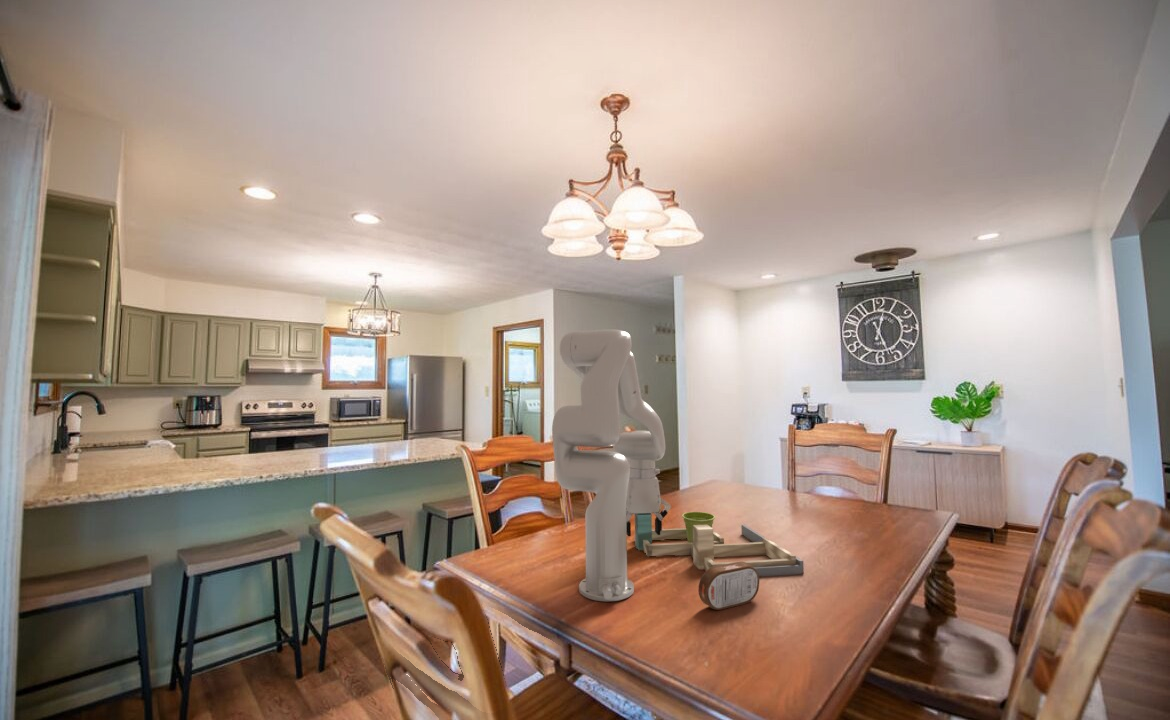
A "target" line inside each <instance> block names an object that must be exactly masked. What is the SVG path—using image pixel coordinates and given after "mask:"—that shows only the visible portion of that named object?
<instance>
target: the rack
mask: <svg viewBox="0 0 1170 720" xmlns="http://www.w3.org/2000/svg"><path fill="white" fill-rule="evenodd" d="M740 527H741V535H742V536H743V535H744V536H743V537H745V538H746V537H747V538H746V539H747V540H749V539H750V541H751V543H753V542H763V538H766V537H765V536H764V535H762V534H761V533H758V531H756V530H754V529H753V528H750V527H749V526H747V525H746V524H741V526H740ZM690 550H691V555H690V556H691V557H692V548H690ZM754 568H755V569H756V570H757V572H758V574H759V577H772V576H775V577H776V576H789V575H802V574H804V572H805V571H804V570H805V569H804V560H803V559H801V558H799V557H797V556H796V565H782V566H765V567H754Z"/></svg>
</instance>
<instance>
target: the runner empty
mask: <svg viewBox="0 0 1170 720" xmlns="http://www.w3.org/2000/svg"><path fill="white" fill-rule="evenodd" d="M713 531H714V528H713V527H712V528H711V527H710V526H709V525H693V546H692V556H691V557H692V558H693V565H694V566H695V567H696V568H697V569H698V570H704V571H705V572H706V571H707V570H708V569H709V568H711V567H713V566H718V565H724V564H729V563H734V562H739V561H740V560H738V561H719V562H715V558H720V557H721V558H722V557H723V558H724V557H725V558H726V557H739V556H740V557H742V556H759V555H762V556H763V555H765V556H768V558H770V559H759V560H758V559H757V560H742V561H743V562H746V563H747V564H749V565H750V566H752V567H765V566H782V565H796V557H797V555H795V554H794V553H792V552H790V551H789V550H787V549H785V548H784V547H782V546H780V545H779V544H777V543H776V542H774V541H772V540H770V539H769V538H768V537H765V538H763V542H738V543H737V542H735V543H724V544H714V539H713Z"/></svg>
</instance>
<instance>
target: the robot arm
mask: <svg viewBox="0 0 1170 720" xmlns="http://www.w3.org/2000/svg"><path fill="white" fill-rule="evenodd" d="M632 345H633V344H632V337H631V335H630V334H629V333H628V332H627V331H624V330H621V329H613V328H612V329H611V328H610V329H595V330H593V329H592V330H580V331H570V332H567V333H566V334H564V335H563V337H562V338H561V340H560V342H559V353H560V357H561V359H562V362H564V364H565V365H566V366H567V367H568V368H569V369H570V370H571V371H573V372H574V373H575V374H576V375H577V376H579V377H580V378H581V379H582V381H581V383H580V402H581V403H580V405H565V406H562V407H560V408H559V409H558V410H557V411H556V412H555V413H554V417H553V420H552V426H551V434H552V435H551V436H552V437H551V438H552V446H553V458H554V469H555V476H556V481H557V482H558V485H559V486H560V487H561V488H562V489H565V490H568V491H576V492H588V493H594V494H595V496H594V497H593V499H592V501H591V502H589V504H588V505H587V508H586V510H585V514H584V515H585V516H584V517H585V519H584V521H585V523H584V524H585V578H583V579H582V580H581V581H580V582H579V585H578V591H579V593H580V595H582V596H583V597H584V598H587V599H589V600H592V601H597V602H608V603H609V602H610V603H611V602H618V601H622V600H625V599H627V598H629V597H631V596H632V595H633V594H634V591H635V585H634V583H633V581H631V580H630V579H629V578H628V554H627V553H628V549H627V548H628V546H627V544H628V542H627V541H628V538H627V537H631V535H632V534H631V532H632V529H631V528H632V527H631V524H632V523H631V521H630V519H631V518H632V517H633V515H635V514H654V516H655V519H654V530H655V532H656V533H657V534H658V535H660V531H662V529H663V524H662V521H664V518H665V517H666V516H667V515H668V512H669V511H670V509H671V508H672V505H671V504H670V503H669V502H667V501H666V500H664V499H663V498H661V493H660V492H661V491H660V484H659V478H658V477H657V475H658V474H660V473H661V469H660V468H656V461H660V460H662V459H663V457H664V456H665V453H666V448H667V447H666V437H665V432H664V427H663V426H664V425H663V422H662V420H661V418H660V417H659V415H658V413H657V412H656V411H655V410H654V409H653V408H652V407H651V405H649V404H648V403H647V402H646V401H644V400H643V399H642V398H643V397H642V394H641V387H640V382H639V375H638V371H637V370H638V369H637V365H636V364H637V363H636V360H635V355H634V354H633V352H632V351H631V350H632ZM620 414H621V415H623V416H625V417H626V418H629V419H632V420H634V421H636V422H637V423H640V424H641V425H643V426H644V427H645V428H646V429H647V430H633V431H625V432H621V421H620V420H621V419H620ZM578 447H585V448H586V447H587V448H589V447H590V448H608V447H612V449H613V450H612V451H610V450H594V449H593V450H591V449H590V450H587V449H585V450H584V449H578ZM662 505H663V506H664V508H663V509H662ZM661 509H662V510H661Z"/></svg>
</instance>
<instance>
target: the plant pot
mask: <svg viewBox="0 0 1170 720" xmlns="http://www.w3.org/2000/svg"><path fill="white" fill-rule="evenodd" d="M681 517H682V518H683V523H684V524H685V525H684V526H685V528H686V532H687V538H688V539H687V542H693V525H709V526H710V527H711V528H713V524H714V520H715V519H716V516H715V515H714V514H712V513H708V512H705V511H687V512H684V513H682V516H681Z"/></svg>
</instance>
